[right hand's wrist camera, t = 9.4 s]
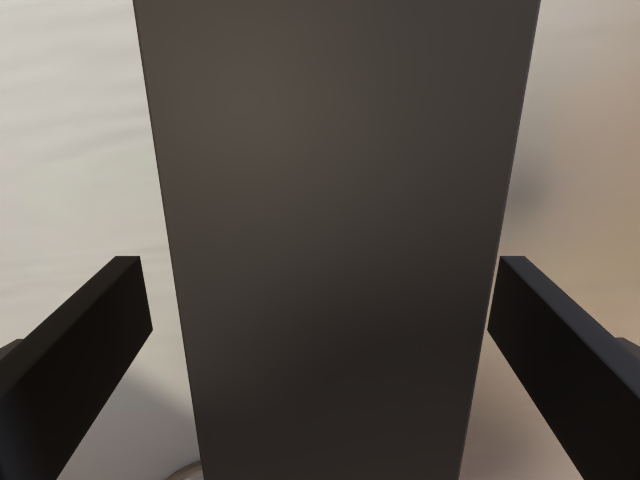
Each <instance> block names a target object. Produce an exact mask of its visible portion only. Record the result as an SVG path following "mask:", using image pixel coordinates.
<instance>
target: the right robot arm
mask: <svg viewBox="0 0 640 480" xmlns="http://www.w3.org/2000/svg"><path fill="white" fill-rule="evenodd" d="M152 331H153V328H152V322H151V316H150V311H149V305H148V299H147V294H146V288H145V282H144V277H143V271H142V266H141V260H140V256H115V257H114V258H113V259H112V260H111V261H110V262H109V263H107V264H106V265H105V266H104V267H103V268H102V269H101V270H100V271H99V272H97V273H96V274H95V275H94V276H93V277H92V278H91V279H90V280H89V281H88V282H86V283H85V284H84V285H83V286H82V287H81V288H80V289H79V290H78V291H76V292H75V293H74V294H73V295H72V296H71V297H70V298H69V299H68V300H66V301H65V302H64V303H63V304H62V305H61V306H60V307H59V308H58V309H57V310H55V311H54V312H53V313H52V314H51V315H50V316H49V317H48V318H47V319H45V320H44V321H43V322H42V323H41V324H40V325H39V326H38V327H37V328H35V329H34V330H33V331H32V332H31V333H30V334H29V335H28V336H27V337H26V338H24V339H16V340H15V341H13V342H11V343H9V344H7V345H6V346H4V347H2V348H0V480H56V479H57V478H58V476H59V474H60V473H61V471H62V470H63V468H64V467H65V465H66V464H67V462H68V460H69V459H70V457H71V456H72V454H73V453H74V451H75V450H76V448H77V447H78V445H79V443H80V442H81V440H82V439H83V437H84V436H85V434H86V433H87V431H88V430H89V428H90V426H91V425H92V423H93V422H94V420H95V419H96V417H97V416H98V414H99V413H100V411H101V409H102V408H103V406H104V405H105V403H106V402H107V400H108V399H109V397H110V396H111V394H112V392H113V391H114V389H115V388H116V386H117V385H118V383H119V382H120V380H121V379H122V377H123V375H124V374H125V372H126V371H127V369H128V368H129V366H130V365H131V363H132V362H133V360H134V358H135V357H136V355H137V354H138V352H139V351H140V349H141V348H142V346H143V344H144V343H145V341H146V340H147V338H148V337H149V335H150V334H151V332H152ZM487 331H488V332H489V334H490V335H491V337H492V338H493V340H494V341H495V343H496V344H497V346H498V348H499V349H500V351H501V352H502V354H503V355H504V357H505V358H506V360H507V362H508V363H509V365H510V366H511V368H512V369H513V371H514V372H515V374H516V375H517V377H518V379H519V380H520V382H521V383H522V385H523V386H524V388H525V389H526V391H527V392H528V394H529V396H530V397H531V399H532V400H533V402H534V403H535V405H536V406H537V408H538V409H539V411H540V413H541V414H542V416H543V417H544V419H545V420H546V422H547V423H548V425H549V426H550V428H551V430H552V431H553V433H554V434H555V436H556V437H557V439H558V440H559V442H560V443H561V445H562V447H563V448H564V450H565V451H566V453H567V454H568V456H569V457H570V459H571V460H572V462H573V464H574V465H575V467H576V468H577V470H578V471H579V473H580V474H581V476H582V478H583V479H584V480H640V347H639V346H637V345H636V344H634V343H632V342H630V341H628V340H627V339H625V338H614V337H613V336H612V335H611V334H610V333H609V332H608V331H607V330H606V329H605V328H603V327H602V326H601V325H600V324H599V323H598V322H597V321H596V320H595V319H593V318H592V317H591V316H590V315H589V314H588V313H587V312H586V311H585V310H583V309H582V308H581V307H580V306H579V305H578V304H577V303H576V302H575V301H574V300H572V299H571V298H570V297H569V296H568V295H567V294H566V293H565V292H564V291H562V290H561V289H560V288H559V287H558V286H557V285H556V284H555V283H554V282H552V281H551V280H550V279H549V278H548V277H547V276H546V275H545V274H544V273H543V272H541V271H540V270H539V269H538V268H537V267H536V266H535V265H534V264H533V263H531V262H530V261H529V260H528V259H527V258H526V257H525V256H500V260H499V266H498V271H497V277H496V283H495V288H494V294H493V299H492V305H491V311H490V316H489V322H488V328H487ZM166 480H204V478H203V471H202V465H201V461H199V462H196V463H193V464H191V465H189V466H186V467H184V468H182V469H180V470H179V471H177V472H175V473H174V474H172V475H171V476H170V477H169V478H167V479H166Z"/></svg>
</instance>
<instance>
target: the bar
mask: <svg viewBox="0 0 640 480" xmlns="http://www.w3.org/2000/svg"><path fill="white" fill-rule="evenodd" d="M540 2H541V0H133V6H134V13H135V20H136V26H137V33H138V40H139V47H140V53H141V60H142V67H143V74H144V80H145V87H146V94H147V100H148V107H149V114H150V121H151V127H152V134H153V141H154V148H155V154H156V161H157V168H158V175H159V181H160V188H161V195H162V202H163V208H164V215H165V222H166V229H167V235H168V242H169V249H170V256H171V262H172V269H173V276H174V283H175V289H176V296H177V303H178V310H179V316H180V323H181V330H182V337H183V343H184V350H185V357H186V364H187V370H188V377H189V384H190V391H191V397H192V404H193V411H194V418H195V424H196V431H197V438H198V444H199V451H200V458H201V465H202V471H203V478H204V480H459V474H460V468H461V462H462V456H463V451H464V445H465V439H466V433H467V427H468V421H469V416H470V410H471V404H472V398H473V392H474V386H475V381H476V375H477V369H478V363H479V357H480V352H481V346H482V340H483V334H484V328H485V322H486V317H487V311H488V305H489V299H490V293H491V287H492V282H493V276H494V270H495V264H496V258H497V253H498V247H499V241H500V235H501V229H502V223H503V218H504V212H505V206H506V200H507V194H508V188H509V183H510V177H511V171H512V165H513V159H514V153H515V148H516V142H517V136H518V130H519V124H520V119H521V113H522V107H523V101H524V95H525V89H526V84H527V78H528V72H529V66H530V60H531V54H532V49H533V43H534V37H535V31H536V25H537V20H538V14H539V8H540Z"/></svg>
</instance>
